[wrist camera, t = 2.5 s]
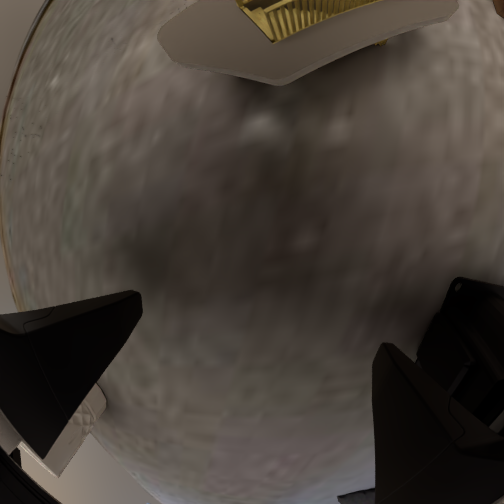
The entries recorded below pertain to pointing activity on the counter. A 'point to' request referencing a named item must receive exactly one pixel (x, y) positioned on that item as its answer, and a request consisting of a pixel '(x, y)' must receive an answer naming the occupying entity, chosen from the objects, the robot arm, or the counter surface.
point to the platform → (288, 33)
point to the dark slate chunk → (358, 497)
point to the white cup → (72, 433)
